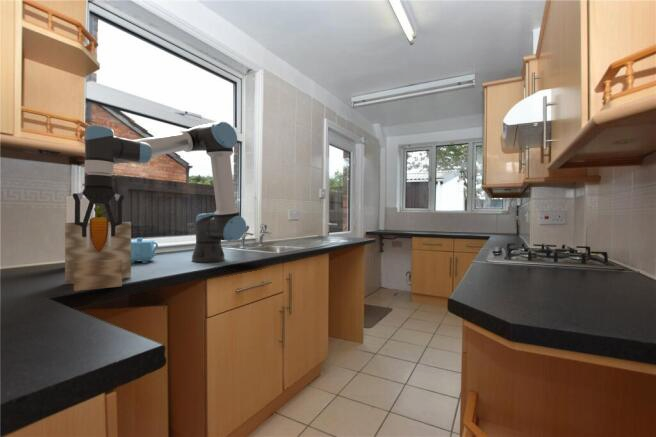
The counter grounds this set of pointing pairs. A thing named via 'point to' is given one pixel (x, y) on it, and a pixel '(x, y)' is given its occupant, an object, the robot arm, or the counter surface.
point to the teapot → (142, 250)
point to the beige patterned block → (97, 258)
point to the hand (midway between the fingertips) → (99, 246)
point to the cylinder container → (83, 208)
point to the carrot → (99, 229)
